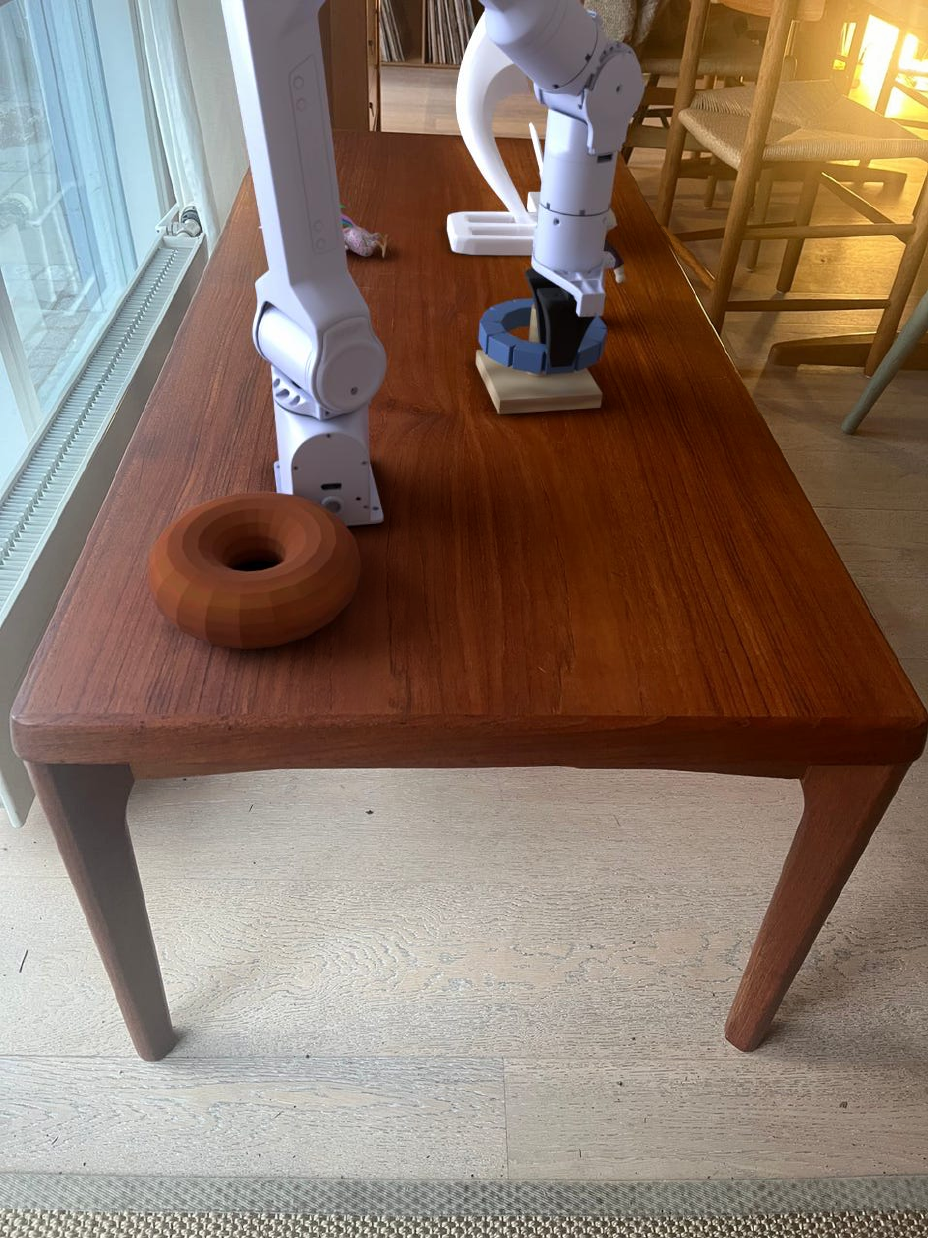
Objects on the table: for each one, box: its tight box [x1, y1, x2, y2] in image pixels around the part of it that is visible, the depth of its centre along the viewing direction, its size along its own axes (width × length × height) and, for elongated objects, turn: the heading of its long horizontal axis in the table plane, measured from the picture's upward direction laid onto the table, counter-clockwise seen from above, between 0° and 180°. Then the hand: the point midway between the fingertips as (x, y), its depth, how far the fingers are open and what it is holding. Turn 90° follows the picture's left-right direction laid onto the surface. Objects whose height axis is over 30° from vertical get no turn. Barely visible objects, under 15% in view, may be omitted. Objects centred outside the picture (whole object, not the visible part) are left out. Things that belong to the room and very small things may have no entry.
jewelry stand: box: [446, 10, 544, 256], centre depth 118 cm, size 25×16×25 cm, turn 6°
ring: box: [478, 297, 608, 374], centre depth 92 cm, size 12×12×2 cm
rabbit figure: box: [258, 204, 388, 259], centre depth 115 cm, size 6×6×15 cm
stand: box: [475, 304, 604, 415], centre depth 93 cm, size 10×10×8 cm
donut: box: [146, 490, 362, 650], centre depth 69 cm, size 15×15×5 cm
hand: (556, 358), depth 88 cm, fingers closed on ring, 2 cm apart
